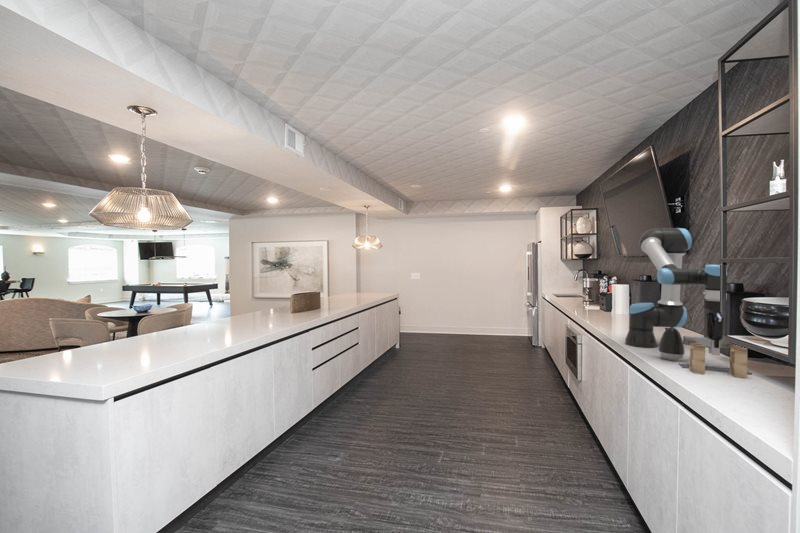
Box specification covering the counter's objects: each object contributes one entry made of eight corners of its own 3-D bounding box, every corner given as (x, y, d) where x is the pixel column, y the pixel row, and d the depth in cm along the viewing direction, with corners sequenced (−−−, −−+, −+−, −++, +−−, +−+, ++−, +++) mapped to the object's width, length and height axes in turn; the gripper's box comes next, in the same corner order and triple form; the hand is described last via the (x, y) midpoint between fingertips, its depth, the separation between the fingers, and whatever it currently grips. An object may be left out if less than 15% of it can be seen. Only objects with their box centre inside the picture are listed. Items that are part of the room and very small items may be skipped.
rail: (683, 343, 181) (683, 335, 181) (744, 348, 172) (744, 340, 172) (684, 344, 178) (685, 337, 178) (747, 349, 169) (747, 341, 169)
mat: (678, 364, 183) (678, 363, 183) (744, 370, 174) (744, 369, 174) (682, 367, 177) (682, 367, 177) (751, 374, 167) (751, 373, 167)
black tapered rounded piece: (676, 357, 197) (676, 326, 197) (689, 362, 187) (690, 329, 186) (654, 356, 198) (654, 325, 198) (665, 361, 188) (666, 329, 187)
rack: (689, 369, 174) (689, 342, 174) (741, 374, 167) (742, 346, 167) (693, 372, 169) (693, 345, 169) (746, 378, 162) (747, 349, 162)
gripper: (699, 298, 184) (698, 349, 184) (710, 301, 169) (709, 357, 169) (719, 299, 181) (718, 351, 181) (733, 302, 166) (731, 359, 166)
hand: (714, 354), depth 175 cm, fingers closed on rail, 3 cm apart
